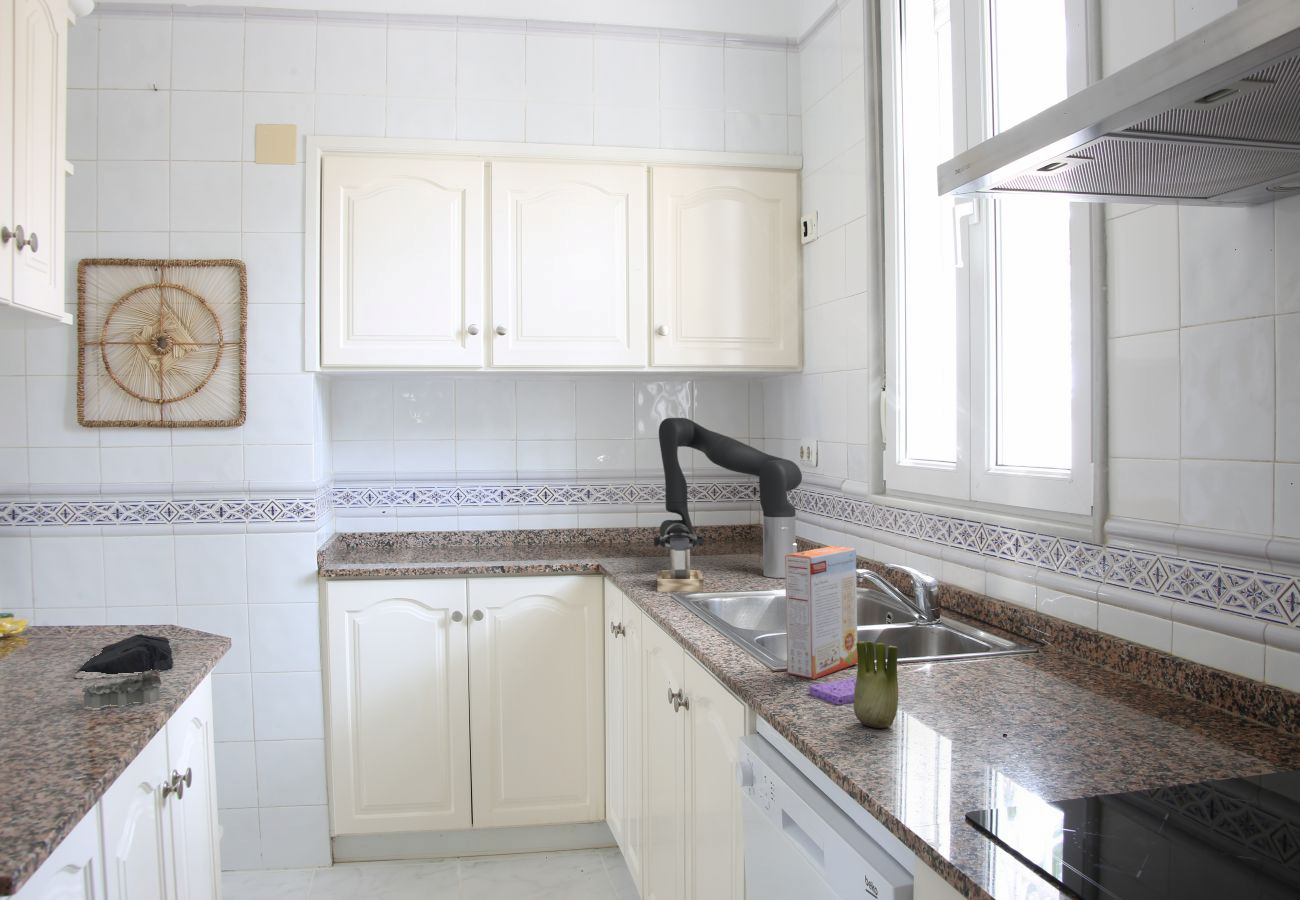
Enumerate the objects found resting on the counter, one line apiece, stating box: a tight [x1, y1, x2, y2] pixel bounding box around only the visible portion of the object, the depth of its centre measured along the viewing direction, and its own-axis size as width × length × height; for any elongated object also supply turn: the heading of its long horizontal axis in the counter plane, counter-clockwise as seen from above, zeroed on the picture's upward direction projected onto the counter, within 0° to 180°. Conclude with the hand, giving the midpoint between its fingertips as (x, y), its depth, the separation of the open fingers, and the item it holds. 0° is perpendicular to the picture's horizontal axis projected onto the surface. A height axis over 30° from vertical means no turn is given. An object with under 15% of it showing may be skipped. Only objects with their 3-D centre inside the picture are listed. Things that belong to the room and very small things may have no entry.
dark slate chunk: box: [77, 633, 174, 674], centre depth 165 cm, size 15×22×5 cm
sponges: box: [808, 676, 857, 706], centre depth 142 cm, size 7×13×2 cm, turn 120°
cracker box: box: [784, 545, 858, 680], centre depth 156 cm, size 14×6×21 cm, turn 135°
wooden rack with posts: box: [656, 548, 705, 593], centre depth 241 cm, size 12×16×10 cm
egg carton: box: [82, 669, 163, 708], centre depth 141 cm, size 11×8×4 cm
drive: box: [669, 538, 690, 579], centre depth 241 cm, size 5×7×11 cm
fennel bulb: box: [853, 640, 899, 729], centre depth 127 cm, size 6×5×12 cm
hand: (679, 543), depth 252 cm, fingers open, 8 cm apart
